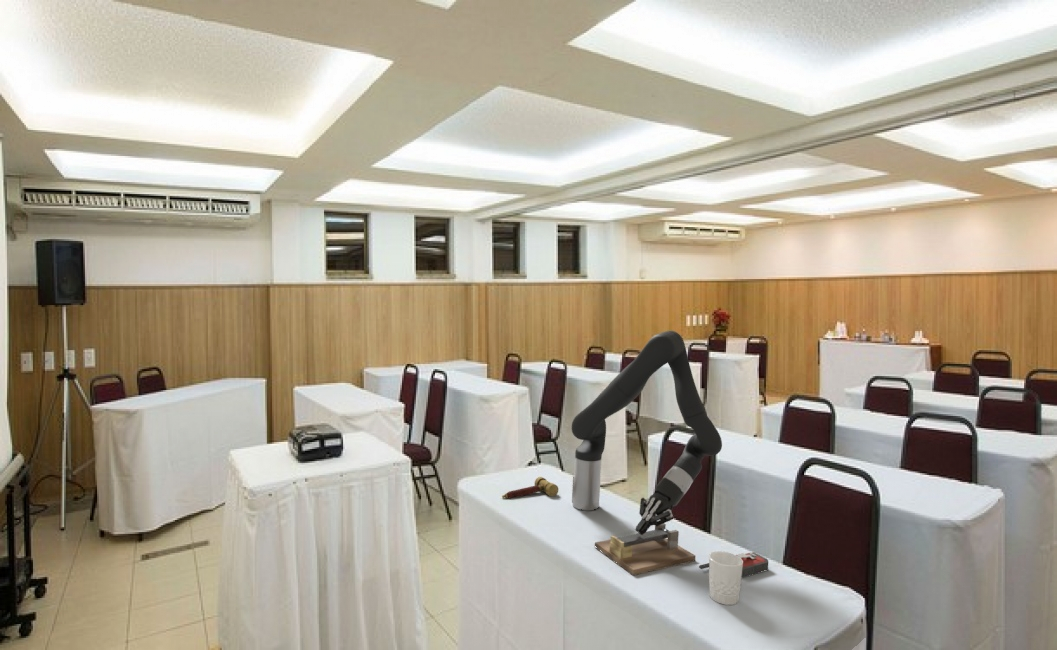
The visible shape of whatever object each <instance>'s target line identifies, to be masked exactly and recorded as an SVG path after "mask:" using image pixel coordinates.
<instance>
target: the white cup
mask: <svg viewBox="0 0 1057 650" xmlns="http://www.w3.org/2000/svg"><path fill="white" fill-rule="evenodd" d="M736 555H737V554H734V553H732V552H727V551H714V552H711V553H710V554H709V556H708V558H709V559H708V560H709V561H708V563H709V567H708V580H709V581H708V582H709V583H708V585H709V597H710V598H711V600H713V601H715V602H716V603H718V604H721V605H727V606H732V605H736V604H737V603H738V602H739V599H740V598H739V596H740V590H741V583H742V578H741V577H742V567H743V560H742V559H741V558H740V557H738V556H736Z"/></svg>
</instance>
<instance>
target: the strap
mask: <svg viewBox="0 0 1057 650" xmlns="http://www.w3.org/2000/svg"><path fill="white" fill-rule="evenodd" d="M668 531H670V530H669V529H667V528H666V527H665V528H662V529H657V530H655V529H653V530H647V531H646V533H644V534H643V535H641V534H639V533H638V532H636V533H633V534H628V535H622V536H618V537H616V538H618V539H619V540H621V541H622V542H624V547H626V546H631V545H636V544H641V543H645V542H650V541H655V540H659V539H664V538H666V539H668Z"/></svg>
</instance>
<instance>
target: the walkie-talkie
mask: <svg viewBox="0 0 1057 650" xmlns="http://www.w3.org/2000/svg"><path fill="white" fill-rule="evenodd" d="M735 555H736V556H738V557H740V558H741V559H742V560H743V567H742V577H741V579H742V578H746V577H750V576H753V575H756V574H759V573H758V572H760V573H762V572H761V571H764V570H767V569H768V570H769V560H768V559H767V558H766V557H764V556H762V555H760V554H758V553H756V552H747V553H743V552H742V553H738V554H735ZM698 568H699V569H700V570H703V569H707V568H708V569H709V562H708V563H703V564H700V565H698ZM768 570H767V571H768ZM764 572H765V571H764ZM755 573H756V574H755ZM752 574H753V575H752ZM749 575H750V576H749Z"/></svg>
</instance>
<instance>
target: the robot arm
mask: <svg viewBox="0 0 1057 650" xmlns="http://www.w3.org/2000/svg"><path fill="white" fill-rule="evenodd" d="M666 364H668V365H669V368H670V371H671V373H672V377H673V381H674V382H673V383H674V390H675V399H676V403H677V406H678V409H679V411H680V412H679V413H680V414H681V417H682V419H683V422H684V424H685V425H686V426H687V427H689V428H691V429H692V430H693V432H694V434H693V435H691V437H690V438H689V439H688V441H687V442H686V444H685V446H684V449H683V451H682V454H681V455H680V456H679V457H678V459H677V461H676V462H675V463H674V464H673V466H671V468H670V469H669V470H668V471H667V472H666V473H665V474H664V476H663V477H662V478H661V480H659V482H658V484H657V485H656V486H655V487H654V492H653V494H651V495H650V496H649V498H645V497H641V498H640V504H639V513H638V514H639V515H640V516H641V520H640V521H639V522H638V524H637V525H636V527H635V531H636V533H639V534H641V535H643V534H644V533H646V532H647V531H649V529H650V527H651V526H654V527H655V526H659V525H661V524H663V523H664V524H666V523H668V522H670V521H672V520H674V519H675V516H674V515H673V513H672V510H673V509H674V507H676V506H677V505H678V504H679V503H680V502H681V500H682V498H683V497H684V496H685V494H686V493H687V492H688V491H689V489H690V487H691V485H692V484H693V482H694V481H695V479H696V478H697V476H698V475H699V474H700V473H701V471H702V469H703V464H702V461H703V459H704V458H705V456H716V455H718V454H719V453H720V452H721V450H722V447H723V443H722V442H723V441H722V437H721V435H720V433H719V431H718V430H717V428H716V426H715V424H713V422H712V421H711V419H710V418H709V416H708V415H707V412H706V409H705V407H704V404H703V401H702V399H701V397H700V394H699V391H698V389H697V386H696V384H695V380H694V377H693V372H692V369H691V365H690V362H689V358H688V352H687V349H686V345H685V342H684V339H683V337H682V336H681V334H680V333H678V332H677V331H675V330H667V331H662V332H659V333H656V334H654V335H653V336H652V337H651V338H650V339H649V340H648V341H647V343H646V344H645V346H644V347H643V348H642V349H641V351H640V352H639V353H638V355H637V356H636V357H635V358H634V359H633V361H632V362H630V363H629V364H628V365H626V366H625V368H624V369H622V370H621V371H620V372H619V373H618V374H617V375H616V377H614V378H613V380H611V381H610V382H609V384H608V385H607V386H606V387H605V388H604V389H603V390H602V391H601V393H599V395H598V396H596V398H594V400H593V401H592V402H591V403H590V404H588V405H587V406H586V407H585V408H584V409H583V410H582V411H580V412H579V413H578V414H576V415H575V417H574V418H573V420H572V423H571V433H572V435H573V436H574V437H575V438H576V439H578V440H581V441H582V442H581V443H580V444H579V446H577V448H576V449H575V453H574V455H575V456H574V474H573V475H574V476H572V490H571V491H572V492H571V494H572V495H571V503H572V506H573V507H574V508H575V509H578V510H581V509H582V510H581V511H595V510H594V509H596V510H598V509H599V508H600V497H601V477H602V475H601V473H602V456H603V453H604V450H605V445H606V437H607V436H606V434H607V423H606V419H608V418H609V417H611V416H613V415H615V414H617V413H618V412H620V411H621V410H623V409H624V408H626V407H627V406H628V405H629V404H630V403H632V402H633V401H634V400H635V399H636V398H637V397H638V396H639V395H640V394H641V393H642V391H643V390H644V388H645V386H646V384H647V382H648V381H649V379H650V377H652V376H653V375H654V373H656V372H657V371H658V370H659V369H660V368H662V367H663V366H664V365H666ZM598 507H599V508H598ZM597 508H598V509H597Z"/></svg>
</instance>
